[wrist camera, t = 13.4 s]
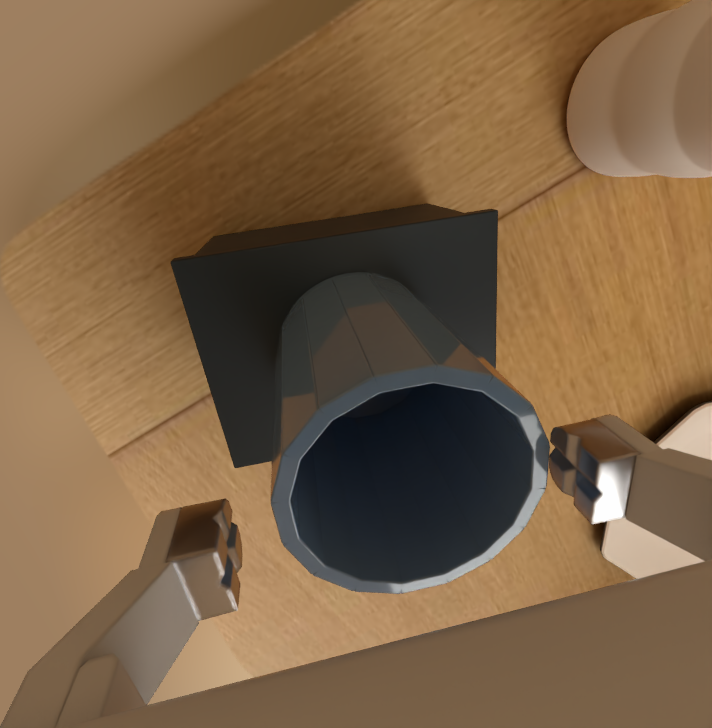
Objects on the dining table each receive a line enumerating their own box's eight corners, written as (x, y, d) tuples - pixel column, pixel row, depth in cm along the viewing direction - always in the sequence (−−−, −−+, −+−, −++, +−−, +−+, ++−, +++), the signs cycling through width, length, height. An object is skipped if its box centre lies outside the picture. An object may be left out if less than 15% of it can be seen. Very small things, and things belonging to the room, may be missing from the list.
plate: (843, 457, 39) (864, 468, 37) (669, 594, 43) (682, 608, 42) (747, 338, 31) (768, 345, 30) (551, 517, 36) (561, 531, 35)
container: (247, 388, 27) (234, 468, 20) (204, 231, 23) (169, 261, 16) (441, 353, 28) (495, 417, 21) (434, 196, 24) (498, 209, 17)
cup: (294, 430, 20) (302, 617, 11) (261, 286, 17) (241, 400, 9) (437, 402, 20) (541, 562, 12) (429, 259, 17) (559, 341, 9)
